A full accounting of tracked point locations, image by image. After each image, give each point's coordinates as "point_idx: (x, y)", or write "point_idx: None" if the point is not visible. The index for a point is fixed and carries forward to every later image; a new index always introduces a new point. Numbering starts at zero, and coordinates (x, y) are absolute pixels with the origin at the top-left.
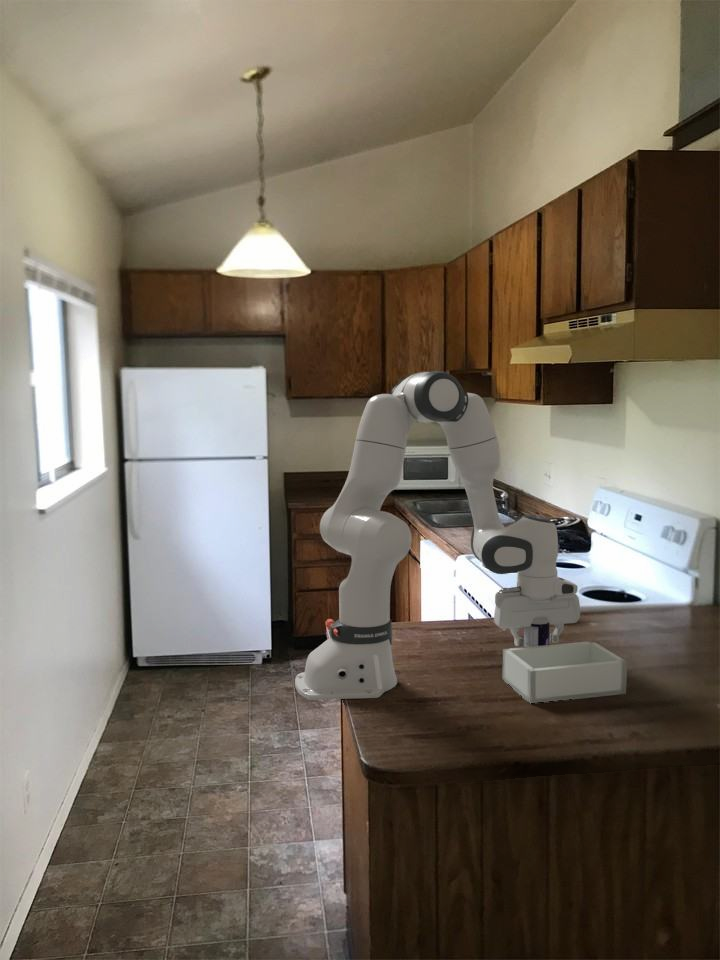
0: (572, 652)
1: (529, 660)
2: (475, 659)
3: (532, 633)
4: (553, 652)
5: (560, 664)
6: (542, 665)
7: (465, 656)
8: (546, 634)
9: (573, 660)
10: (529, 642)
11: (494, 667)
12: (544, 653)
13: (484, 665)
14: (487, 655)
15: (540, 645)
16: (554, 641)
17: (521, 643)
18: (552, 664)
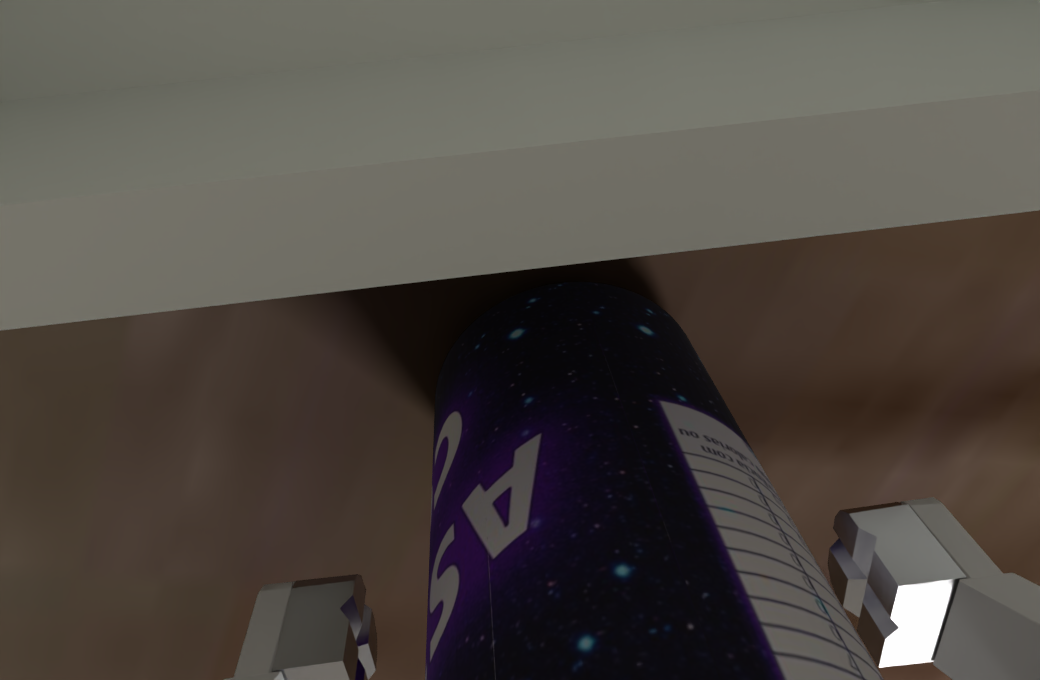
0: (109, 150)
1: (983, 36)
2: (994, 556)
3: (844, 634)
4: (533, 113)
5: (389, 76)
6: (699, 46)
7: None
8: (544, 611)
9: (145, 114)
10: (788, 520)
11: (964, 386)
12: (733, 90)
13: (1015, 437)
14: (851, 618)
15: (638, 438)
16: (333, 582)
17: (885, 524)
18: (526, 68)
